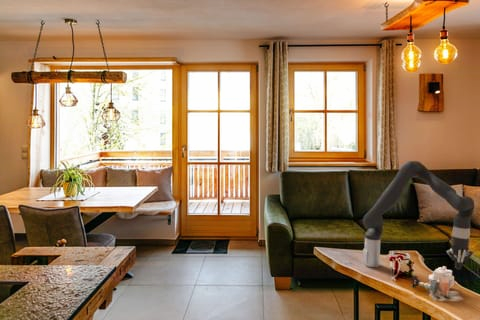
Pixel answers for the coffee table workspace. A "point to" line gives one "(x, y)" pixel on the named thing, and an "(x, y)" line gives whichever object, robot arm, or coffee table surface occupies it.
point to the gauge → (438, 294)
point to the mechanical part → (442, 275)
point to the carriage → (444, 287)
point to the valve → (420, 283)
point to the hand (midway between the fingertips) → (458, 268)
